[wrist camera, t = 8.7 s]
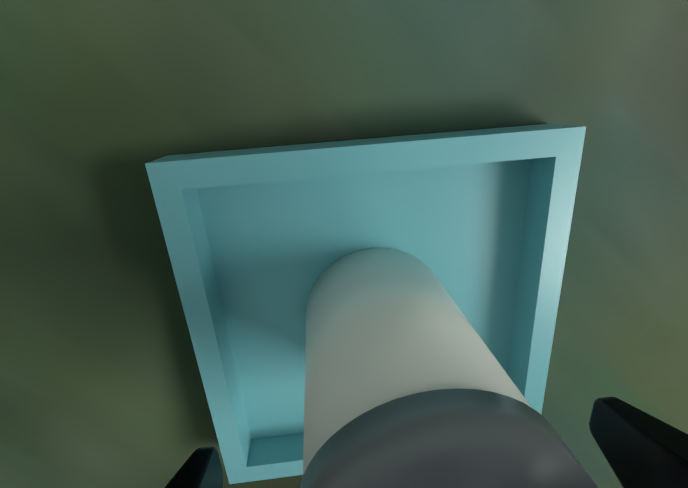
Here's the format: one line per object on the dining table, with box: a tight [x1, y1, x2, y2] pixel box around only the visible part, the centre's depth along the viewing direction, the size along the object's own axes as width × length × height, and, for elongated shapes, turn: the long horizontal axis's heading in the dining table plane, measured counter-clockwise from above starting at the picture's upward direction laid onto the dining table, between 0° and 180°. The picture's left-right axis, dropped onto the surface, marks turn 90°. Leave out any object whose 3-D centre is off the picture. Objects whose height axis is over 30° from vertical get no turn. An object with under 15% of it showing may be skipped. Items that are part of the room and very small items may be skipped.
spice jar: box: [299, 248, 598, 488], centre depth 10 cm, size 5×5×8 cm
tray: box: [145, 124, 586, 484], centre depth 13 cm, size 13×13×2 cm
